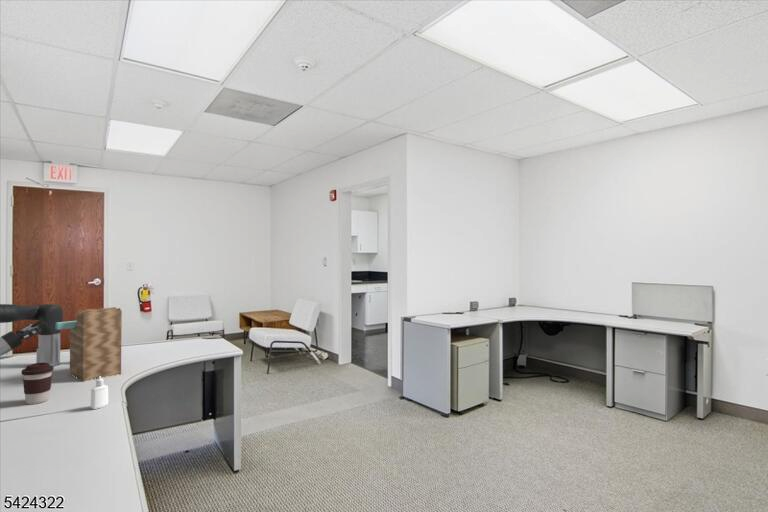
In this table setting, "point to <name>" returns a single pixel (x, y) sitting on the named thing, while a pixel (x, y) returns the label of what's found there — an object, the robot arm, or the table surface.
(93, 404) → the eye dropper bottle
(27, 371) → the coffee cup
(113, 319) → the stand
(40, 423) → the table surface
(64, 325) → the block
